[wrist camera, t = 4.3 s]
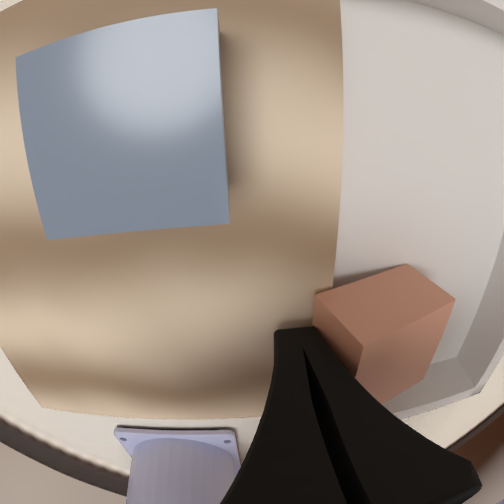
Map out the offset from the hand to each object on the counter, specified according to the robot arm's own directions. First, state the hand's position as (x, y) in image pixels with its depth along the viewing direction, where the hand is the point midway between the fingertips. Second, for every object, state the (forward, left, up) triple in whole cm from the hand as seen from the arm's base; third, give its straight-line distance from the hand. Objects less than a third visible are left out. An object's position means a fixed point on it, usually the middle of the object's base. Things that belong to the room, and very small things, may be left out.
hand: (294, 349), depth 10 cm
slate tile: (+7, +4, -1) cm, 8 cm away
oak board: (+3, +6, -3) cm, 7 cm away
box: (+3, -6, -3) cm, 7 cm away
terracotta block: (0, -2, -1) cm, 3 cm away
